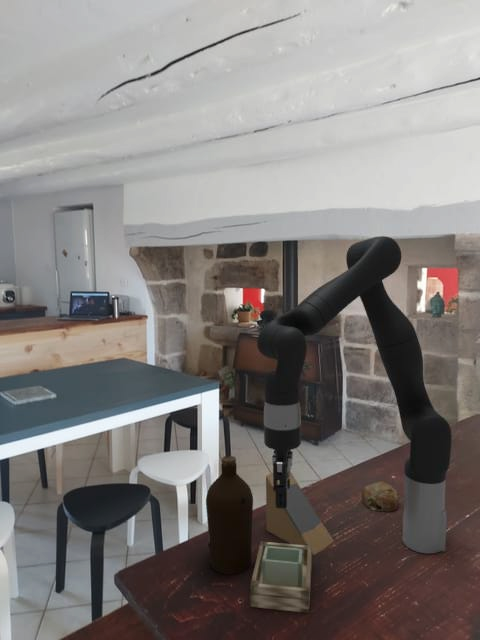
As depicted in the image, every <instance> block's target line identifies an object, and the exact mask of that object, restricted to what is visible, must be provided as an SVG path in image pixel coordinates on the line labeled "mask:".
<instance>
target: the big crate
mask: <svg viewBox="0 0 480 640" xmlns="http://www.w3.org/2000/svg"><path fill="white" fill-rule="evenodd" d="M265 546H275V547H286V548H297V549H302V585H301V588H297V587H287V586H277V585H268V584H263V580H262V560H263V555H264V551H265ZM312 555H313V554H312V546H307V545H296V544H291V543H284V542H283V543H281V542H280V543H279V542H271V541H260V543H259V547H258V552H257V556H256V561H255V565H254V568H253V573H252V577H251V581H250V585H249V586H250V587H249V589H250V595H249V597H250V607H252V608H259V609H260V608H261V609H267V610H268V609H269V610H277V611H287V612H288V611H289V612H294V613H295V612H296V613H306V614H309V613H310V601H311V600H310V598H311V581H312V569H313V568H312V565H313V564H312V563H313V562H312V561H313V556H312Z"/></svg>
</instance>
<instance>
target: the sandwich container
mask: <svg viewBox="0 0 480 640" xmlns="http://www.w3.org/2000/svg"><path fill="white" fill-rule="evenodd" d="M278 484H280V480H278ZM265 493H266V494H265V498H266V499H265V501H266V506H265V507H266V531H267V532H268V533H271V534H272V535H274V536H276V537H278V538H279V539H281V540H282V541H285V542H287V543H288V544H296V545H307V546H312V555H313V556H314V555H316V554H318V553H319V552H321V551H322V550H324V549H325V548H327V547H328V546H329V545H331V544H332V543H333V542H334V539H333V537H332V536H331V535H330V532H329V531H328V530H327V528H326V526H324V523H323V522H322V521H321V519H320V517H319V515H318V514H317V512H316V511H315V510H314V508H313V506H312V505H311V503H310V501H309V500H308V497H306V495H305V493H304V492H303V490H302V488H301V487H300V485H299V484H298V482H297V480H296V478H295V477H294V475H293V473H292V472H291V470H290V488H289V489H287V507H286V508H285V509H283V508H277V507H276V498H275V492H274V490H273V472H271V473H268V474H267V475H266V476H265Z"/></svg>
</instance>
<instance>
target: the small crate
mask: <svg viewBox="0 0 480 640" xmlns="http://www.w3.org/2000/svg"><path fill="white" fill-rule="evenodd" d="M262 580H263V584H268V585H277V586H287V587H297V588H301V585H302V549H297V548H286V547H275V546H265V551H264V555H263V560H262Z"/></svg>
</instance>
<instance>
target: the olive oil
mask: <svg viewBox="0 0 480 640" xmlns="http://www.w3.org/2000/svg"><path fill="white" fill-rule="evenodd" d="M220 466H221V473H220V475H219V476H218V477H217V478H216V479H215V480H214V481H213V482H212V484H211V485H210V486H209V487H208V491H207V494H206V497H205V506H206V507H205V509H206V519H207V530H208V531H207V533H208V548H209V563H210V566H211V568H212V569H213V570H214V571H215V572H217V573H219V574H222V575H228V576H230V575H237V574H238V575H239V574H241V573H243V572H244V571H247V570H248V569H249V567H250V566H251V563H252V538H253V537H252V536H253V535H252V533H253V508H254V496H253V495H254V494H253V492H252V489H251V487H250V486H249V484H248V483H247V481H245V480H244V478H242V477H241V476H240V475H238V473H237V458H236V457H235V456H233V455H225V456H222V457H221V465H220Z"/></svg>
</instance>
